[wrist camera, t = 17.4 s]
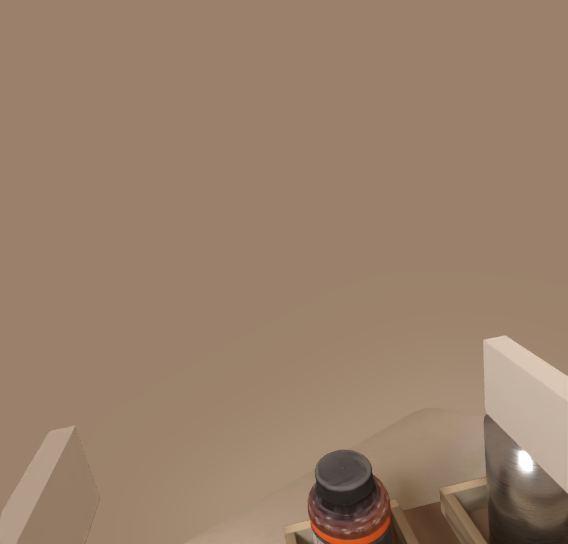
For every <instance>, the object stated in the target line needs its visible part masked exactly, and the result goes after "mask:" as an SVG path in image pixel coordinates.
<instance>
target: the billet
mask: <svg viewBox="0 0 568 544" xmlns="http://www.w3.org/2000/svg"><path fill="white" fill-rule="evenodd" d="M484 436H485V459H486V481H487V504H488V526H489V541H490V544H568V493H567V492H566V491H565V490H564V489H563V488H562V487H561V486H560V485H559V484H558V483H557V482H556V481H555V480H554V479H553V478H552V477H550V476H549V475H548V474H547V473H546V472H545V471H544V470H543V469H542V468H541V467H540V466H539V465H538V464H537V463H536V462H535V461H534V460H533V459H532V458H531V457H530V456H529V455H528V454H527V453H526V452H525V451H524V450H523V449H522V448H521V447H520V446H519V445H518V444H517V443H516V442H515V441H514V440H513V439H512V438H511V437H510V436H509V435H508V434H507V433H506V432H505V431H504V430H503V429H502V428H501V427H500V426H499V425H498V424H497V423H496V422H495V421H494V420H493V419H492V418H491V417H490V416H489V415H488V414H486V416H485V418H484Z"/></svg>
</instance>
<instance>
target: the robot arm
mask: <svg viewBox="0 0 568 544" xmlns="http://www.w3.org/2000/svg"><path fill="white" fill-rule="evenodd" d="M483 344H484V385H485V386H484V388H485V412H486V413H487V414H488V415H489V416H490V417H491V418H492V419H493V420H494V421H495V422H496V423H497V424H498V425H499V426H500V427H501V428H502V429H503V430H504V431H505V432H506V433H507V434H508V435H509V436H510V437H511V438H512V439H513V440H514V441H515V442H516V443H517V444H518V445H519V446H520V447H521V448H522V449H523V450H524V451H525V452H526V453H527V454H528V455H529V456H530V457H531V458H532V459H533V460H534V461H535V462H536V463H537V464H538V465H539V466H540V467H541V468H542V469H543V470H544V471H545V472H546V473H547V474H548V475H549V476H550V477H552V478H553V479H554V480H555V481H556V482H557V483H558V484H559V485H560V486H561V487H562V488H563V489H564V490H565V491H566V492H567V493H568V376H566V375H565V374H563V373H562V372H560V371H559V370H557V369H555V368H554V367H552V366H551V365H549V364H548V363H546V362H545V361H543V360H542V359H540V358H539V357H537V356H536V355H534V354H532V353H531V352H530V351H528V350H527V349H525V348H523V347H522V346H520V345H519V344H517V343H516V342H514V341H513V340H511V339H510V338H508V337H507V336H500V337H495V338H491V339H486V340H484V342H483ZM99 500H100V497H99V494H98V491H97V489H96V486H95V482H94V479H93V476H92V473H91V470H90V467H89V464H88V461H87V458H86V455H85V452H84V449H83V446H82V444H81V440H80V437H79V434H78V431H77V428H76V426H72V427H66V428H62V429H57V430H52V431H49V433H48V435H47V436H46V438H45V440H44V441H43V443H42V445H41V446H40V448H39V450H38V452H37V453H36V455H35V457H34V458H33V460H32V462H31V463H30V465H29V467H28V469H27V470H26V472H25V474H24V475H23V477H22V479H21V480H20V482H19V484H18V486H17V488H16V489H15V491H14V492H13V494H12V496H11V498H10V499H9V501H8V503H7V504H6V506H5V508H4V509H3V511H2V513H1V514H0V544H85V543H86V539H87V536H88V533H89V530H90V527H91V524H92V521H93V518H94V515H95V512H96V509H97V506H98V503H99Z"/></svg>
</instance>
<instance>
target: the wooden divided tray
mask: <svg viewBox="0 0 568 544" xmlns="http://www.w3.org/2000/svg"><path fill="white" fill-rule="evenodd" d="M440 501H441V502H437V503H433V504H429V505H425V506H421V507H417V508H413V509H409V510H405V511H402V510H401V508H400V506H399V504H398V502H397V500H396V499H394V500H390V505H391V511H392V519H393V527H394V535H395V543H396V544H490V541H489V526H488V504H487V481H486V477H484V478H480V479H475V480H471V481H467V482H463V483H459V484H455V485H451V486H447V487H443V488H440ZM284 531H285V537H286V543H287V544H314V540H313V535H312V531H311V524H310V520H308V521H304V522H300V523H295V524H291V525H287V526H284Z"/></svg>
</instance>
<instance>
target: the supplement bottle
mask: <svg viewBox="0 0 568 544" xmlns="http://www.w3.org/2000/svg"><path fill="white" fill-rule="evenodd" d="M315 477H316V484H315V485H314V486H313V487H312V489H311V491H310V493H309V498H308V513H309V518H310V524H311V531H312V535H313V540H314V544H396V543H395V535H394V527H393V519H392V511H391V505H390V499H389V495H388V493H387V490H386V489H385V487H384V485H383V484H382V483H381V481H380V480H379V479H378V478H376V477H375V476H374V475H373V474H372V467H371V464H370V462H369V460H368V459H367V458H366V457H365V456H364V455H362V454H360V453H358V452H355V451H351V450H338V451H334V452H331V453H329V454H327V455H325V456H324V457H323V458H321V459H320V461H319V462H318V463H317V465H316V468H315Z"/></svg>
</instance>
